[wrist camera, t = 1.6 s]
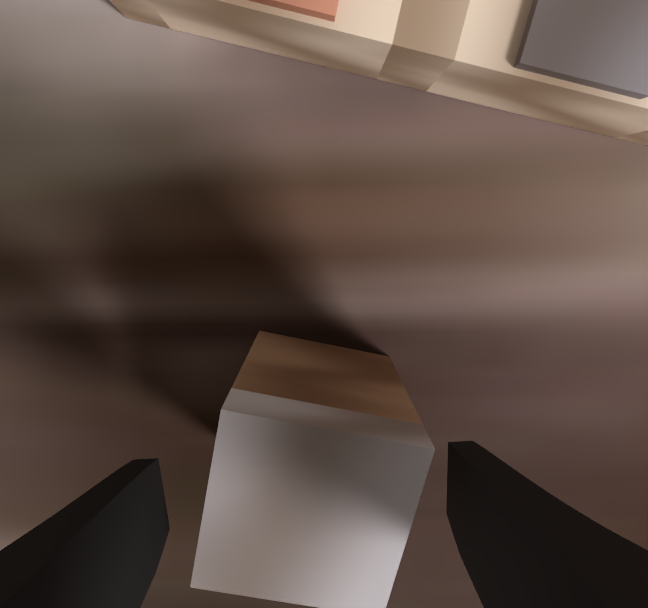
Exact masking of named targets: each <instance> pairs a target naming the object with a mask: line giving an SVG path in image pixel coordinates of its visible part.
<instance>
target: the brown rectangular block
mask: <svg viewBox="0 0 648 608" xmlns="http://www.w3.org/2000/svg"><path fill="white" fill-rule="evenodd" d="M434 451H435V448H434V446H433V444H432V442H431V440H430V438H429V436H428V434H427V432H426V430H425V428H424V426H423V424H422V422H421V420H420V418H419V416H418V414H417V412H416V410H415V408H414V406H413V404H412V402H411V400H410V398H409V395H408V393H407V391H406V389H405V387H404V385H403V383H402V381H401V379H400V377H399V375H398V373H397V371H396V369H395V367H394V365H393V363H392V361H391V359H390V357H389V356H384V355H379V354H374V353H369V352H364V351H359V350H354V349H349V348H344V347H339V346H334V345H329V344H324V343H319V342H314V341H309V340H304V339H299V338H294V337H289V336H284V335H279V334H274V333H269V332H264V331H259V332H258V334H257V336H256V338H255V341H254V343H253V345H252V347H251V349H250V351H249V353H248V355H247V357H246V359H245V361H244V363H243V365H242V367H241V369H240V371H239V373H238V375H237V377H236V380H235V382H234V384H233V386H232V388H231V390H230V392H229V394H228V396H227V398H226V400H225V402H224V404H223V406H222V408H221V412H220V418H219V423H218V429H217V435H216V441H215V447H214V453H213V458H212V464H211V470H210V476H209V482H208V487H207V493H206V499H205V505H204V511H203V516H202V522H201V528H200V534H199V540H198V546H197V551H196V557H195V563H194V569H193V575H192V580H191V586H190V587H192V588H198V589H204V590H211V591H217V592H223V593H230V594H236V595H242V596H249V597H255V598H261V599H268V600H274V601H280V602H287V603H293V604H300V605H306V606H312V607H319V608H386V605H387V602H388V599H389V596H390V593H391V589H392V586H393V583H394V580H395V576H396V573H397V570H398V567H399V564H400V560H401V557H402V554H403V551H404V547H405V544H406V541H407V538H408V535H409V531H410V528H411V525H412V522H413V519H414V515H415V512H416V509H417V506H418V502H419V499H420V496H421V493H422V490H423V486H424V483H425V480H426V477H427V473H428V470H429V467H430V464H431V461H432V457H433V454H434Z"/></svg>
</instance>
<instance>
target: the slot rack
mask: <svg viewBox="0 0 648 608" xmlns="http://www.w3.org/2000/svg"><path fill="white" fill-rule="evenodd" d="M109 1H110V2H111V3H112V4H113V5H114V6H115V7H116V8H117V9H118V10H119V11H120V12H121V13H122V14H123V15H124V16H125V17H126V18H129V19H133V20H137V21H141V22H146V23H150V24H154V25H158V26H162V27H166V28H170V29H174V30H178V31H182V32H186V33H190V34H194V35H199V36H203V37H207V38H211V39H215V40H219V41H223V42H227V43H231V44H235V45H239V46H243V47H247V48H252V49H256V50H260V51H264V52H268V53H272V54H276V55H280V56H284V57H288V58H292V59H296V60H300V61H305V62H309V63H313V64H317V65H321V66H325V67H329V68H333V69H337V70H341V71H345V72H349V73H353V74H358V75H362V76H366V77H370V78H374V79H378V80H382V81H386V82H390V83H394V84H398V85H402V86H406V87H411V88H415V89H419V90H423V91H427V92H431V93H435V94H439V95H443V96H447V97H451V98H455V99H459V100H464V101H468V102H472V103H476V104H480V105H484V106H488V107H492V108H496V109H500V110H504V111H508V112H512V113H517V114H521V115H525V116H529V117H533V118H537V119H541V120H545V121H549V122H553V123H557V124H561V125H565V126H570V127H574V128H578V129H582V130H586V131H590V132H594V133H598V134H602V135H606V136H610V137H614V138H618V139H623V140H627V141H631V142H635V143H639V144H643V145H647V146H648V0H109Z"/></svg>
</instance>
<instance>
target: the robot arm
mask: <svg viewBox="0 0 648 608" xmlns="http://www.w3.org/2000/svg"><path fill="white" fill-rule="evenodd" d="M447 516H448V519H449V522H450V525H451V529H452V532H453V535H454V538H455V541H456V544H457V547H458V550H459V553H460V556H461V558H462V560H463V562H464V565H465V567H466V569H467V571H468V574H469V576H470V578H471V580H472V582H473V585H474V587H475V589H476V591H477V593H478V596H479V598H480V600H481V602H482V604H483V607H484V608H648V550H646V549H644V548H642V547H640V546H638V545H636V544H635V543H633V542H631V541H629V540H627V539H625V538H623V537H621V536H620V535H618V534H616V533H614V532H612V531H610V530H609V529H607V528H605V527H603V526H602V525H600V524H598V523H596V522H595V521H593V520H591V519H590V518H588V517H587V516H585V515H583V514H582V513H580V512H578V511H577V510H575V509H573V508H572V507H570V506H569V505H567V504H565V503H564V502H562V501H561V500H559V499H557V498H556V497H554V496H553V495H551V494H550V493H548V492H547V491H545V490H544V489H542V488H541V487H539V486H538V485H536V484H535V483H533V482H532V481H530V480H529V479H527V478H526V477H524V476H523V475H522V474H520V473H519V472H517V471H516V470H514V469H513V468H512V467H510V466H509V465H507V464H506V463H504V462H503V461H502V460H500V459H499V458H497V457H496V456H495V455H493V454H492V453H490V452H489V451H487V450H486V449H484V448H483V447H481V446H480V445H478V444H477V443H475V442H474V441H462V442H448V474H447ZM169 529H170V528H169V522H168V516H167V509H166V503H165V497H164V491H163V485H162V478H161V472H160V466H159V460H158V458H156V459H137V460H132V461H131V462H129V463H127V464H126V465H124V466H123V467H121V468H120V469H118V470H117V471H115V472H114V473H112V474H111V475H110V476H108V477H107V478H105V479H104V480H102V481H101V482H100V483H98V484H97V485H95V486H94V487H93V488H91V489H90V490H88V491H87V492H86V493H84V494H83V495H81V496H80V497H79V498H77V499H76V500H74V501H73V502H72V503H70V504H69V505H67V506H66V507H64V508H63V509H62V510H60V511H59V512H57V513H56V514H55V515H53V516H52V517H50V518H49V519H47V520H46V521H44V522H43V523H41V524H40V525H38V526H37V527H35V528H34V529H32V530H31V531H29V532H28V533H26V534H25V535H23V536H22V537H20V538H19V539H17V540H16V541H14V542H13V543H11V544H10V545H8V546H7V547H5V548H4V549H2V550H1V551H0V608H140V607H141V604H142V602H143V600H144V598H145V596H146V593H147V591H148V589H149V587H150V584H151V582H152V580H153V577H154V575H155V573H156V570H157V567H158V564H159V561H160V558H161V555H162V552H163V549H164V545H165V542H166V539H167V536H168V532H169Z"/></svg>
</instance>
